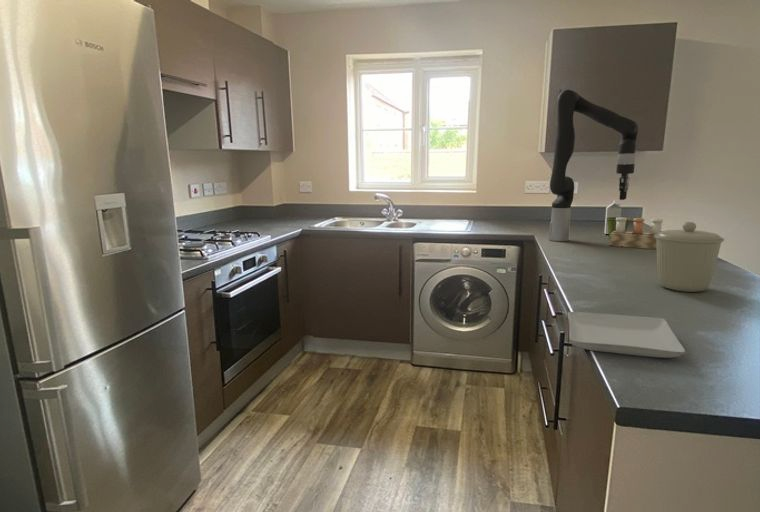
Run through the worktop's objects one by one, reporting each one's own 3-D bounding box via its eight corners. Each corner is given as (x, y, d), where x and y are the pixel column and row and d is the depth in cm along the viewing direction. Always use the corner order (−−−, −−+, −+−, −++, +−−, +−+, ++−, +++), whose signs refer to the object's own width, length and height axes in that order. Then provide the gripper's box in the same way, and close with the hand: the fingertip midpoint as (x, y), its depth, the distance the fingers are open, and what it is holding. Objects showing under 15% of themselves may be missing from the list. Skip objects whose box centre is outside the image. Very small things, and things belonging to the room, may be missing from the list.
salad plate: (568, 354, 97) (569, 338, 96) (566, 322, 116) (567, 309, 115) (685, 368, 89) (687, 351, 89) (663, 331, 109) (664, 317, 108)
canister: (720, 299, 133) (729, 226, 129) (648, 291, 142) (654, 223, 138) (715, 285, 148) (723, 220, 144) (650, 279, 157) (656, 217, 153)
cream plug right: (649, 237, 216) (650, 219, 214) (650, 235, 219) (651, 218, 218) (660, 237, 213) (662, 220, 211) (661, 236, 217) (663, 219, 215)
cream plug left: (614, 235, 224) (615, 218, 222) (615, 233, 228) (616, 217, 226) (624, 235, 221) (625, 218, 220) (625, 234, 225) (627, 217, 224)
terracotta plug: (631, 236, 220) (632, 219, 218) (632, 234, 223) (633, 218, 222) (642, 236, 217) (643, 219, 216) (643, 235, 221) (644, 218, 219)
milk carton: (605, 235, 257) (607, 201, 254) (604, 233, 264) (606, 200, 260) (619, 235, 255) (622, 201, 251) (618, 233, 261) (620, 200, 258)
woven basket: (609, 245, 223) (610, 233, 222) (612, 242, 231) (613, 231, 230) (662, 249, 211) (663, 236, 210) (663, 246, 219) (664, 233, 218)
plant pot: (603, 240, 239) (605, 218, 237) (604, 237, 250) (606, 216, 248) (629, 241, 234) (631, 219, 232) (629, 238, 244) (631, 217, 242)
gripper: (619, 163, 226) (616, 198, 229) (614, 163, 214) (611, 200, 218) (636, 163, 222) (633, 198, 225) (632, 163, 210) (629, 200, 213)
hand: (622, 199), depth 221 cm, fingers open, 4 cm apart
